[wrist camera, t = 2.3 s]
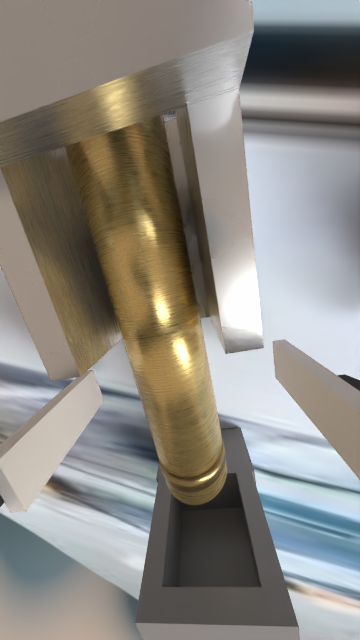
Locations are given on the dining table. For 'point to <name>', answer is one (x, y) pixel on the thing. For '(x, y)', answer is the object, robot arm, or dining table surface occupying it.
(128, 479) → the dining table surface
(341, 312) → the dining table surface
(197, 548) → the socket
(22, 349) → the dining table surface
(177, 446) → the tube
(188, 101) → the grey tube holder
